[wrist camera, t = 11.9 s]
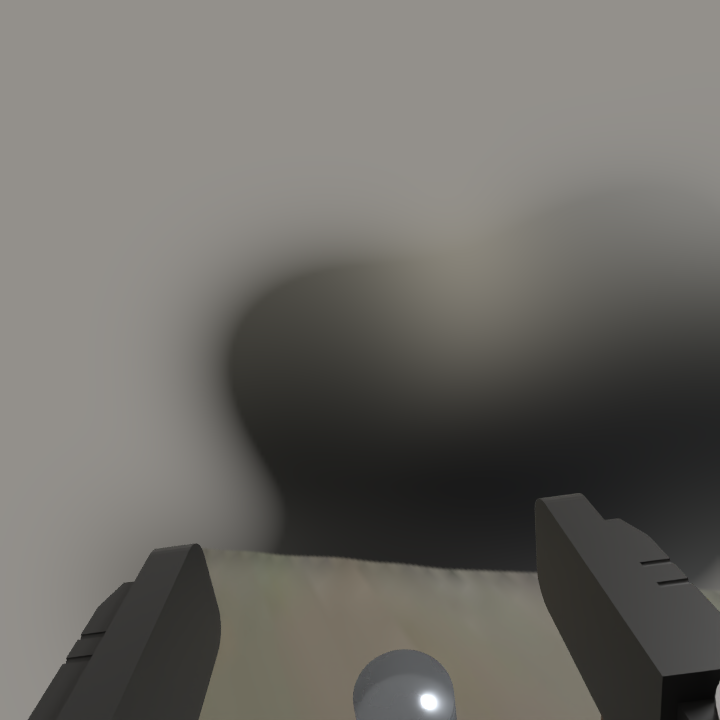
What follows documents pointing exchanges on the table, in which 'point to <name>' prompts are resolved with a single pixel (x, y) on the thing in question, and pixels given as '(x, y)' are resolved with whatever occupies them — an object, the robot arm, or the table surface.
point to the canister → (404, 688)
